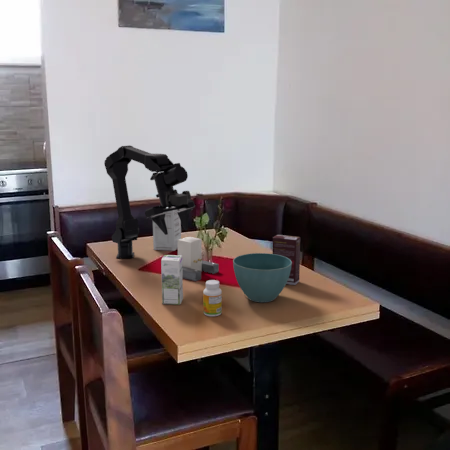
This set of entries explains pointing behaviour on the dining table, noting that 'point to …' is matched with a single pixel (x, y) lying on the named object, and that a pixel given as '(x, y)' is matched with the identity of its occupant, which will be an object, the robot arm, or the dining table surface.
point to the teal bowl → (262, 275)
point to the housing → (196, 274)
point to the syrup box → (172, 279)
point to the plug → (191, 252)
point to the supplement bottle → (212, 298)
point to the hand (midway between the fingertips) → (176, 232)
